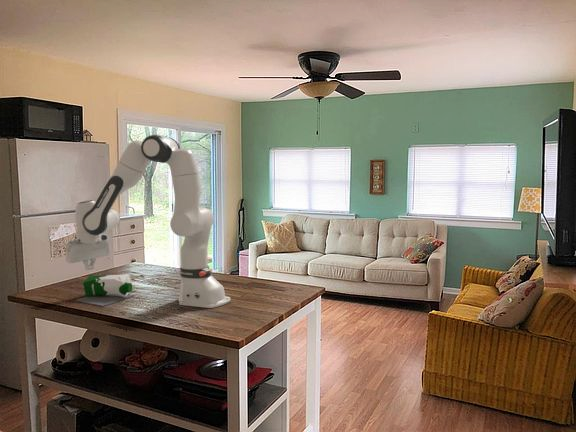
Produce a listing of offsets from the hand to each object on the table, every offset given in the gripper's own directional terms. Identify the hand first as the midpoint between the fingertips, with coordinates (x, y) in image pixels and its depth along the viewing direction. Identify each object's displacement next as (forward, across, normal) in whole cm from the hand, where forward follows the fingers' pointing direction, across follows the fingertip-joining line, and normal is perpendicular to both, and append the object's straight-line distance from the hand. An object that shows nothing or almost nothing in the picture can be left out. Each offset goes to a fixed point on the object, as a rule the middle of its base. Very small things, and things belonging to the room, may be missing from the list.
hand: (89, 269), depth 208 cm
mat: (+12, 0, -9) cm, 15 cm away
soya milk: (+8, 0, +2) cm, 8 cm away
